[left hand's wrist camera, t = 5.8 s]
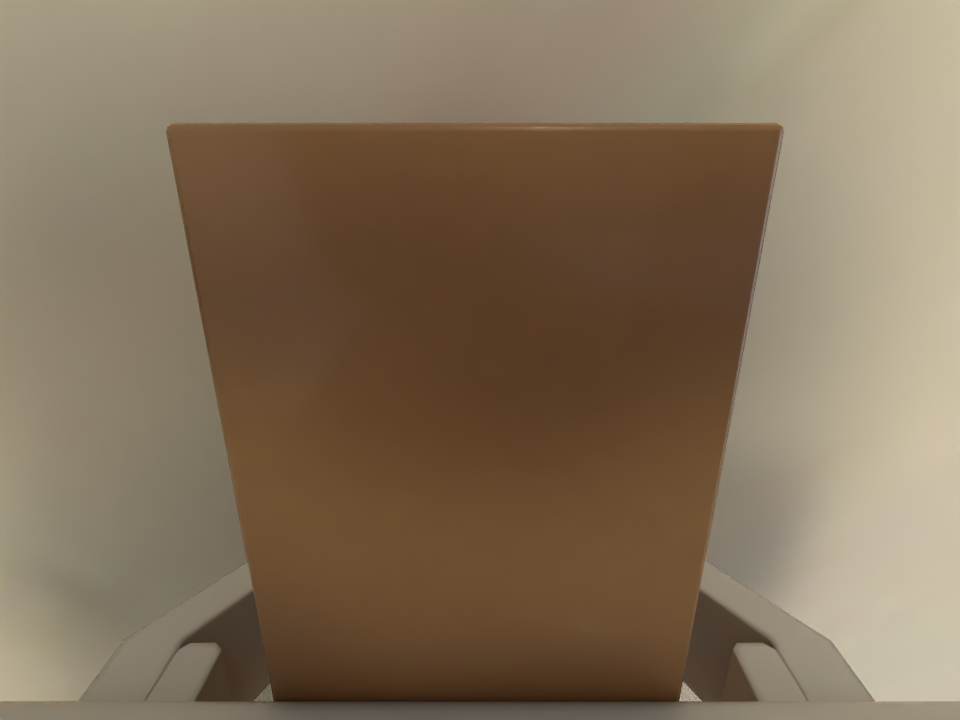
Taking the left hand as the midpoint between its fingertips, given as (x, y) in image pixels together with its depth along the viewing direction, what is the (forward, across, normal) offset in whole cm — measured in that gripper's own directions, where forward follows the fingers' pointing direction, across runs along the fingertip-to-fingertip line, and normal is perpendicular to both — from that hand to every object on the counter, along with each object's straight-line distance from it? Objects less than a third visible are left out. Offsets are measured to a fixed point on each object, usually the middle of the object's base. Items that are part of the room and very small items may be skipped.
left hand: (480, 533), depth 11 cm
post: (+3, 0, -26) cm, 26 cm away
